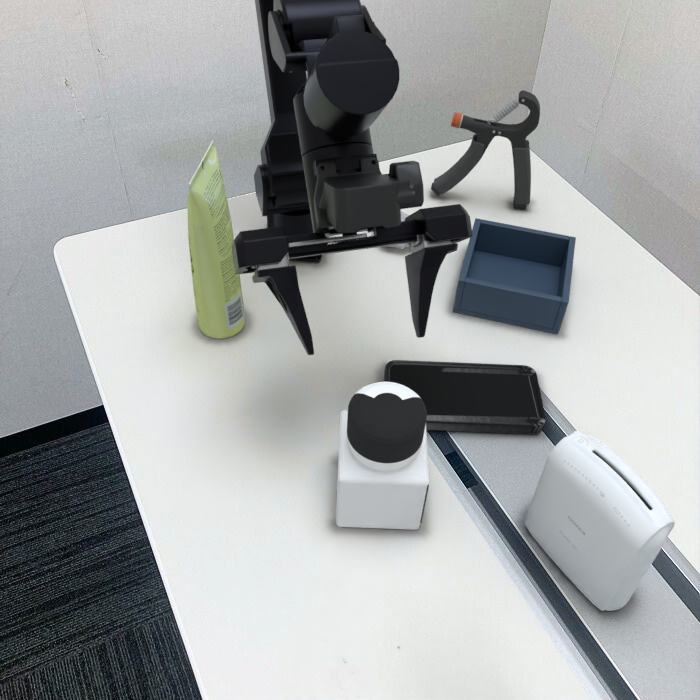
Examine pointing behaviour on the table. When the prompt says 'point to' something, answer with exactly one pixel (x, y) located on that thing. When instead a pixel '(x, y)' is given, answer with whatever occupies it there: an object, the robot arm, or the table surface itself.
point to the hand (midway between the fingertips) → (366, 345)
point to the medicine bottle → (382, 459)
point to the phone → (473, 395)
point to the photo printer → (597, 520)
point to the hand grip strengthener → (482, 140)
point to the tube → (213, 252)
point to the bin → (516, 276)
